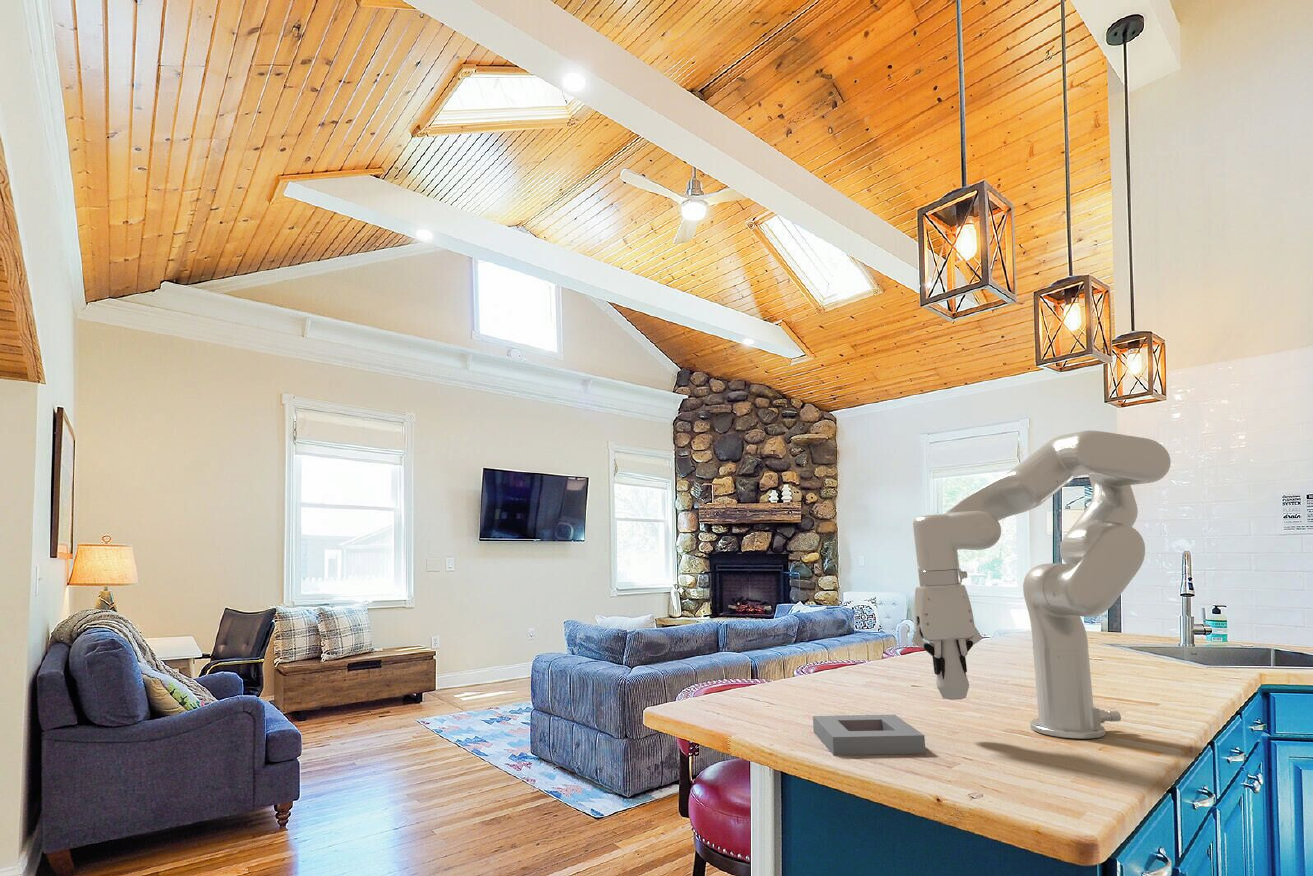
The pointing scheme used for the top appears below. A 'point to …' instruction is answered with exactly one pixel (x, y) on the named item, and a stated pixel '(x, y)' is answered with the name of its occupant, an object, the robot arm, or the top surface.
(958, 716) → the top surface
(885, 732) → the socket board
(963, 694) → the white bulbous peg
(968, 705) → the top surface
